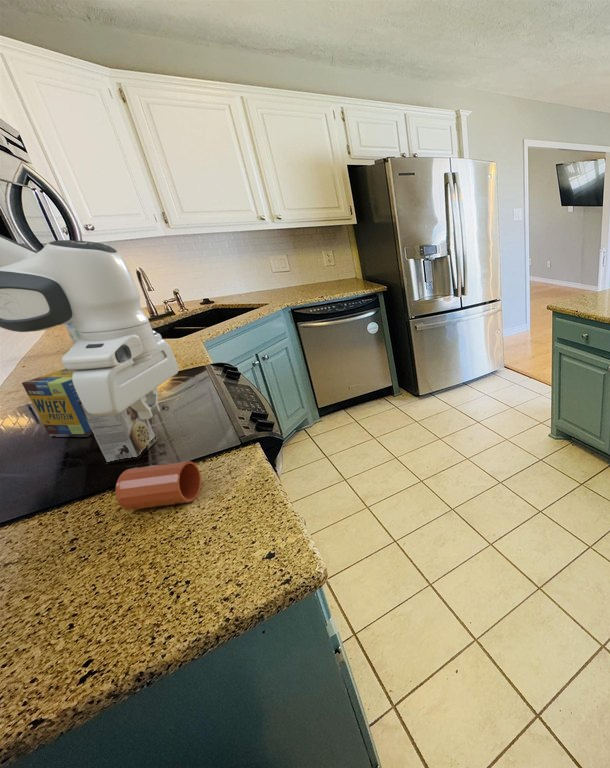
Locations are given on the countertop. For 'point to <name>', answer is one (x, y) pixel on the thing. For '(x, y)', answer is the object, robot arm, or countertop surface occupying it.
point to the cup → (158, 485)
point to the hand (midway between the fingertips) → (150, 415)
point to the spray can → (72, 332)
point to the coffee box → (120, 433)
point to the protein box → (57, 403)
